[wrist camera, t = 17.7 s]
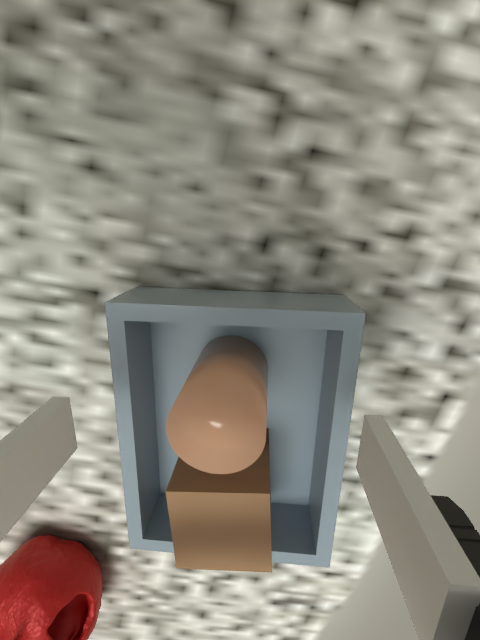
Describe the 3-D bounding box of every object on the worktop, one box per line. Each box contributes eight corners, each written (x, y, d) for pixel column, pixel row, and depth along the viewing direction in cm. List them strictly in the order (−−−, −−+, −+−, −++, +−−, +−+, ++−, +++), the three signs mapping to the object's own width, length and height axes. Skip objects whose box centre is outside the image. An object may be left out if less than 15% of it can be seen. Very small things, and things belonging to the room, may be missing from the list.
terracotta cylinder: (199, 331, 22) (167, 382, 15) (272, 340, 21) (272, 396, 15) (195, 395, 23) (164, 466, 17) (263, 404, 23) (259, 481, 16)
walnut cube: (189, 428, 24) (165, 491, 18) (268, 428, 24) (269, 493, 18) (196, 491, 26) (176, 568, 20) (270, 493, 25) (272, 572, 20)
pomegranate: (5, 571, 32) (-99, 706, 23) (32, 504, 29) (-77, 630, 20) (95, 614, 32) (27, 763, 23) (131, 553, 29) (68, 697, 20)
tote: (137, 286, 22) (104, 302, 18) (344, 294, 21) (365, 313, 17) (151, 495, 27) (129, 548, 23) (318, 509, 26) (329, 567, 22)
